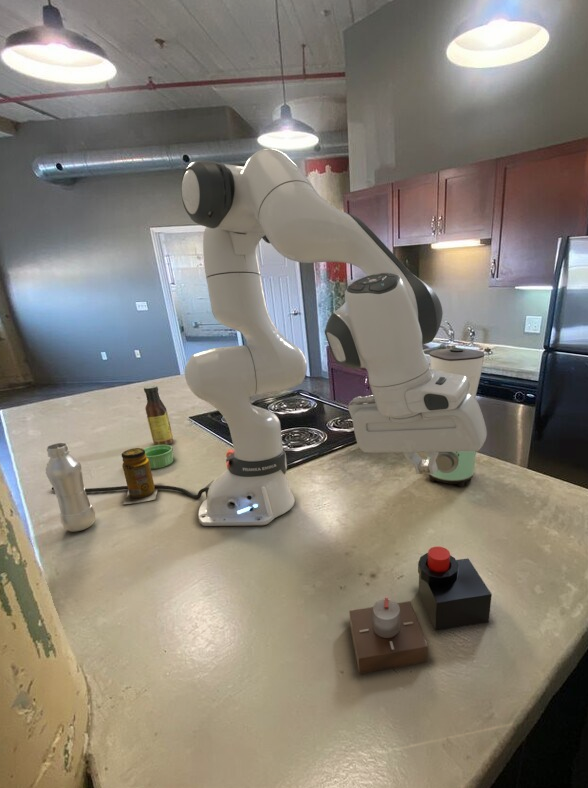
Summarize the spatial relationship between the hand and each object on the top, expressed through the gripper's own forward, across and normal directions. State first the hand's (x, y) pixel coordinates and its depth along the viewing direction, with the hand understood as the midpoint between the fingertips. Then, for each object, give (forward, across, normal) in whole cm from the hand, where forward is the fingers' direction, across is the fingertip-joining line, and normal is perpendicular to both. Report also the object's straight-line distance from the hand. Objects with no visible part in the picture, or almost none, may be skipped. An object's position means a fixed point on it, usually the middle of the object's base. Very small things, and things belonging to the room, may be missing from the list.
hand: (427, 472), depth 65 cm
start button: (+16, -1, -4) cm, 17 cm away
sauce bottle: (+6, -108, +22) cm, 110 cm away
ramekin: (+7, -95, +11) cm, 96 cm away
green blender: (+30, -16, +40) cm, 53 cm away
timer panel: (+20, -6, -17) cm, 27 cm away
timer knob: (+17, -5, -16) cm, 24 cm away
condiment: (+6, -81, -4) cm, 82 cm away
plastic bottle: (+4, -80, -19) cm, 82 cm away
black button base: (+24, 0, -6) cm, 24 cm away
